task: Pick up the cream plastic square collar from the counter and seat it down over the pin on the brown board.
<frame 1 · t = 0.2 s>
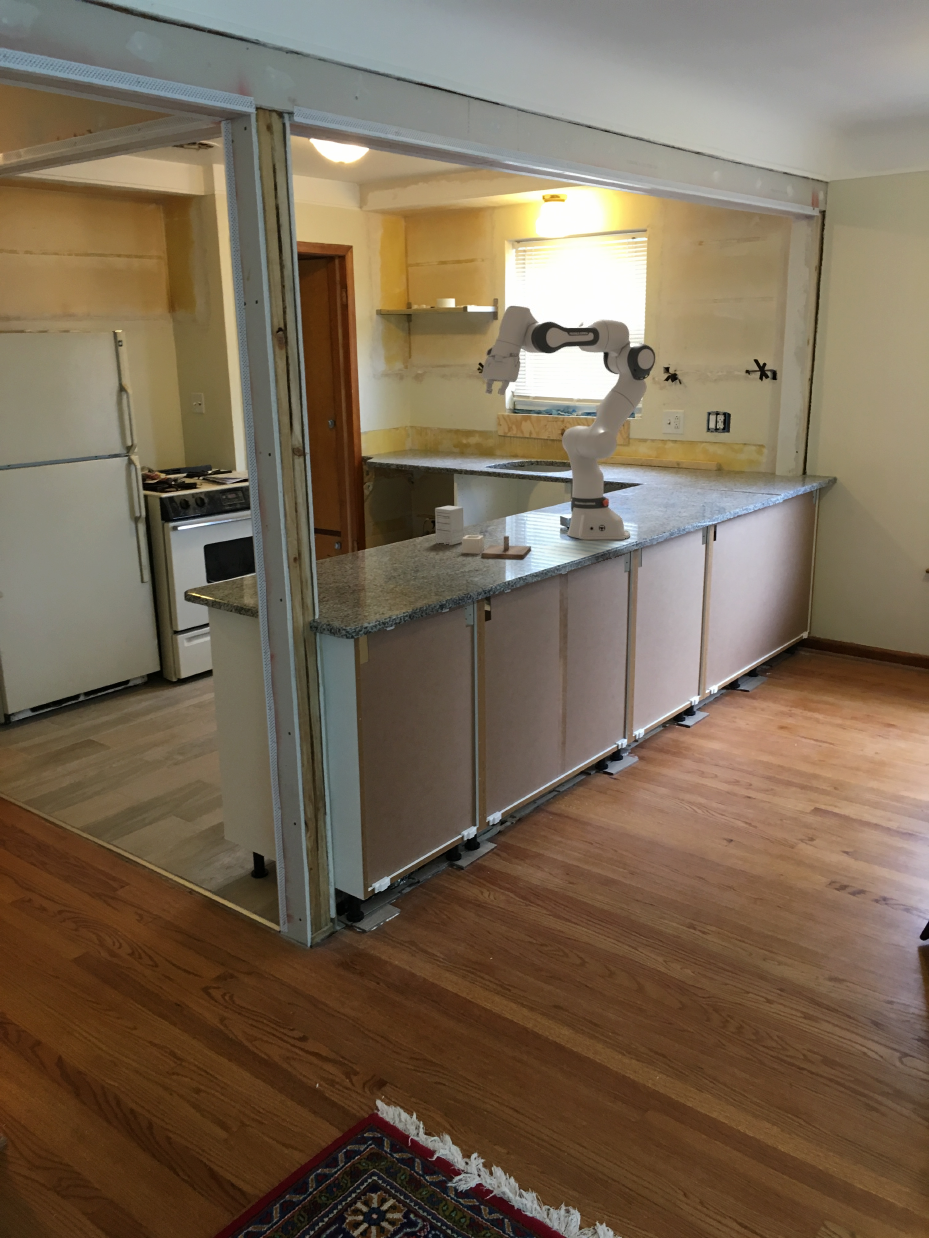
hand: (494, 394, 334), 52 cm above the counter, tool tilted 20°, fingers open, 8 cm apart
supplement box: (449, 543, 354), on the counter
pin board: (506, 554, 333), on the counter
collar: (473, 551, 338), on the counter
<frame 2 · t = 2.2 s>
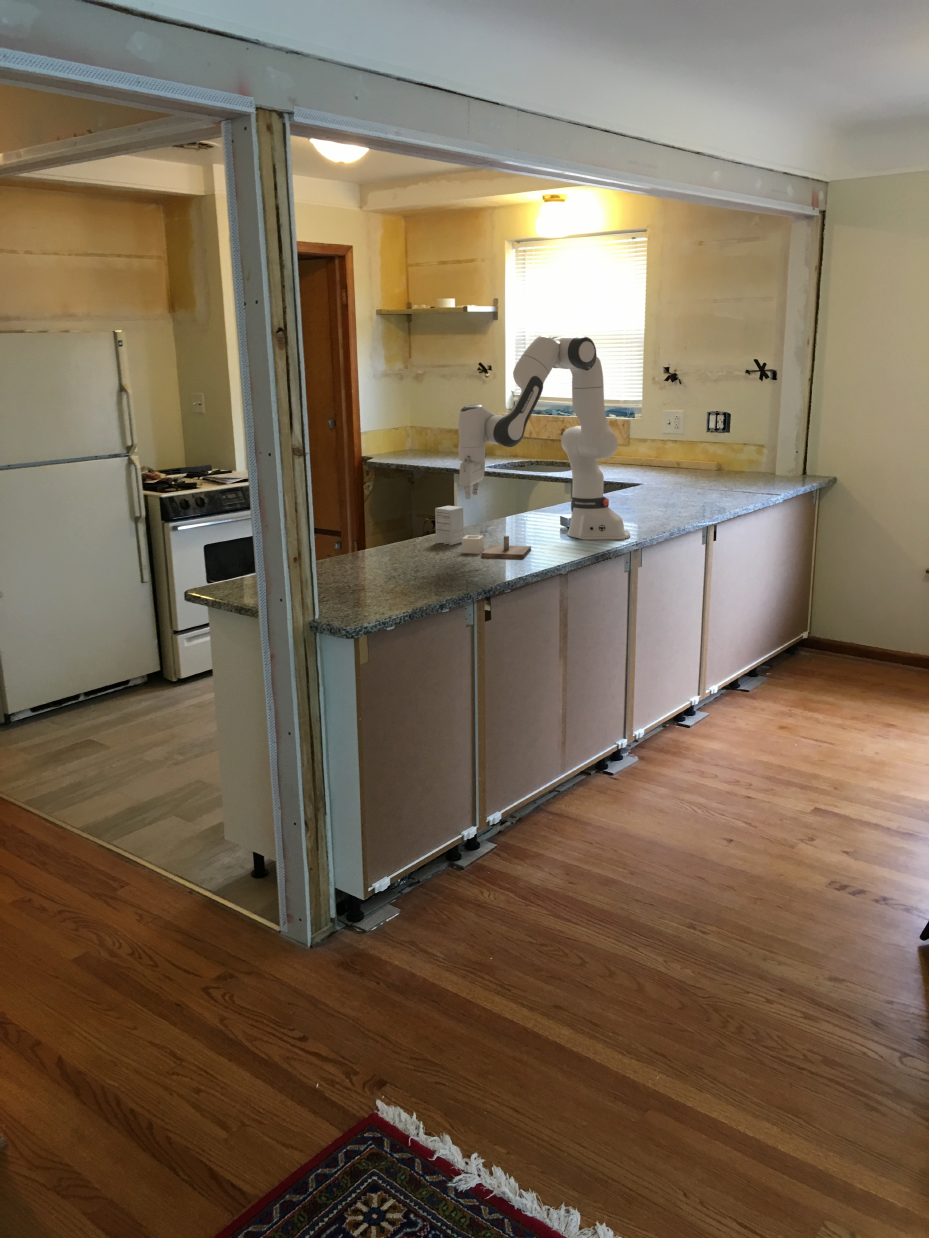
hand: (472, 496, 333), 19 cm above the counter, tool pointing down, fingers open, 8 cm apart
nothing on the counter moved.
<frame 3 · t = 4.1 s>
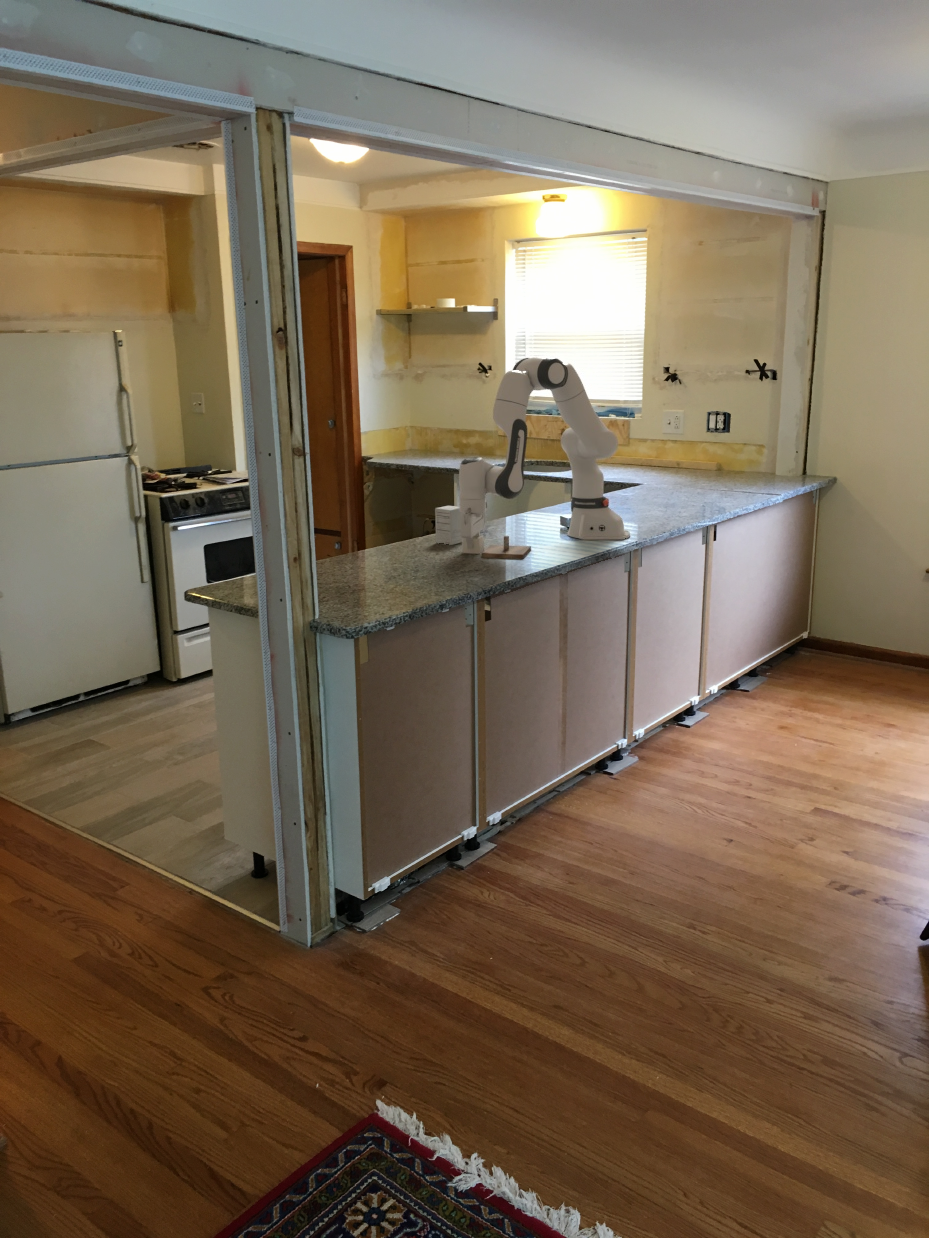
hand: (473, 546, 337), 2 cm above the counter, tool pointing down, fingers closed on collar, 6 cm apart
collar: (473, 551, 338), on the counter, touching gripper
everything else where it was.
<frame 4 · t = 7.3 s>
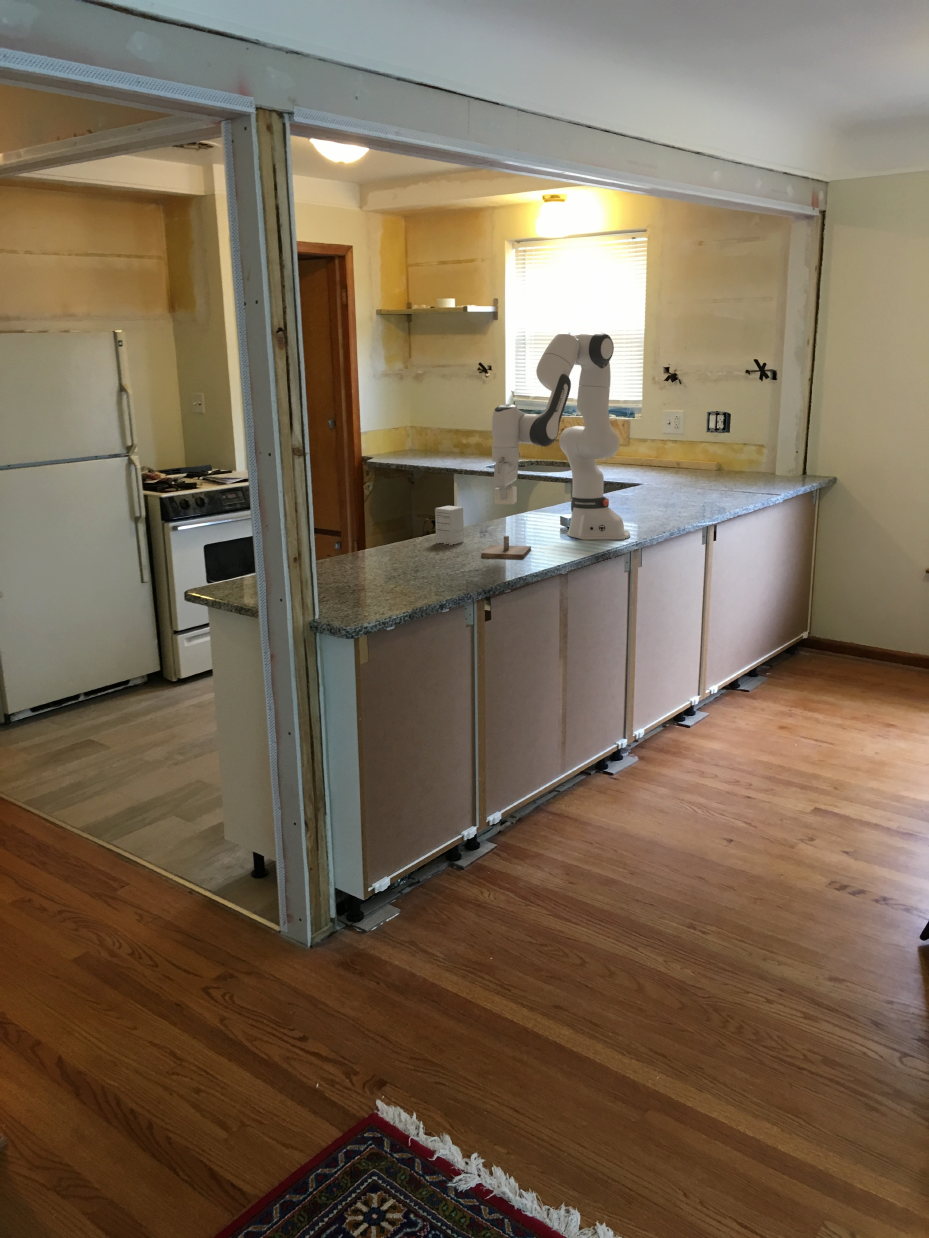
hand: (505, 497, 328), 19 cm above the counter, tool pointing down, fingers closed on collar, 6 cm apart
collar: (505, 502, 329), point 17 cm above the counter, touching gripper
everything else where it was.
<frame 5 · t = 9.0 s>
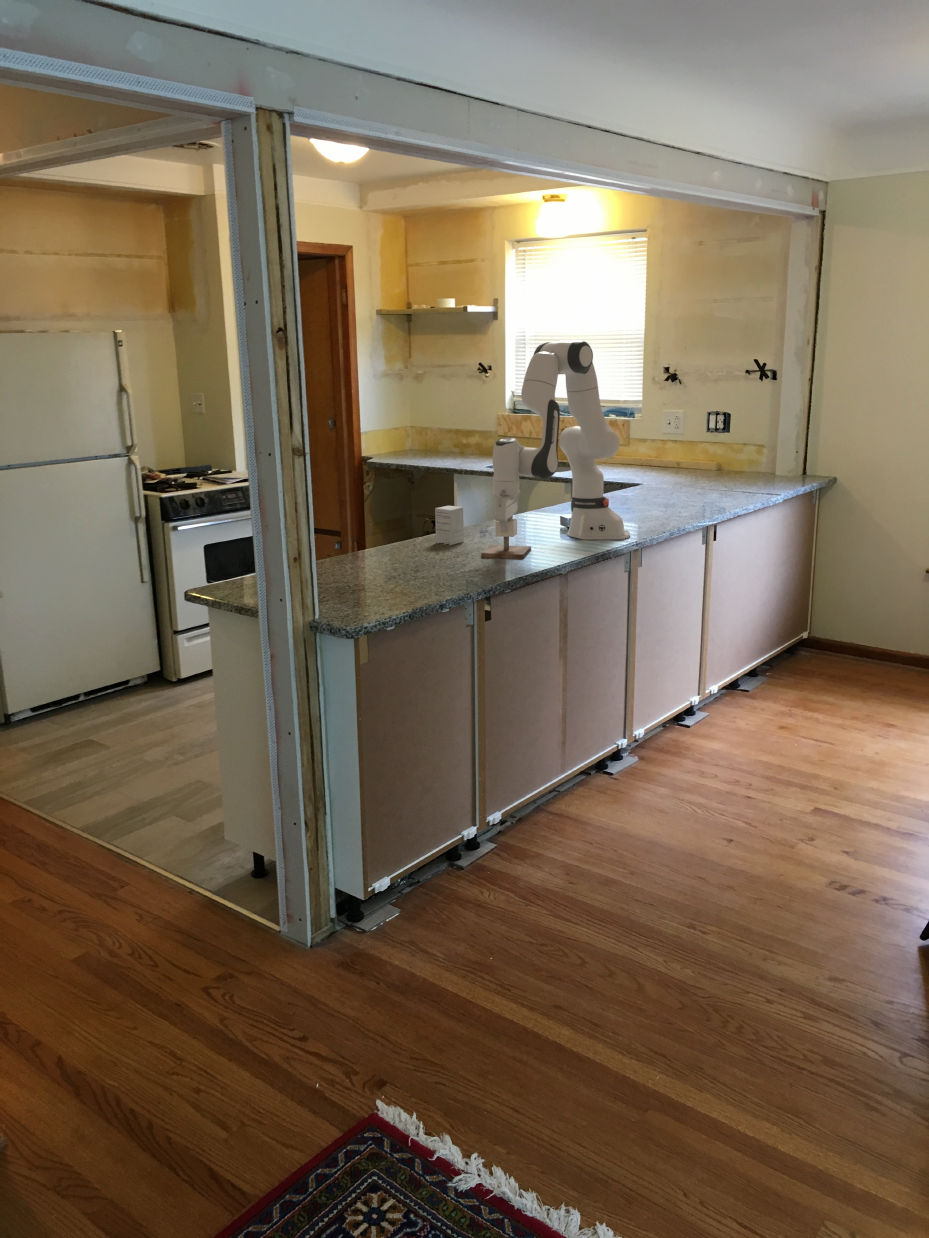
hand: (506, 530, 331), 8 cm above the counter, tool pointing down, fingers closed on collar, 6 cm apart
collar: (506, 535, 331), point 6 cm above the counter, touching gripper
everything else where it was.
when the fingers open (4 cm above the counter, at t = 10.5 s): collar stays where it is, resting on pin board.
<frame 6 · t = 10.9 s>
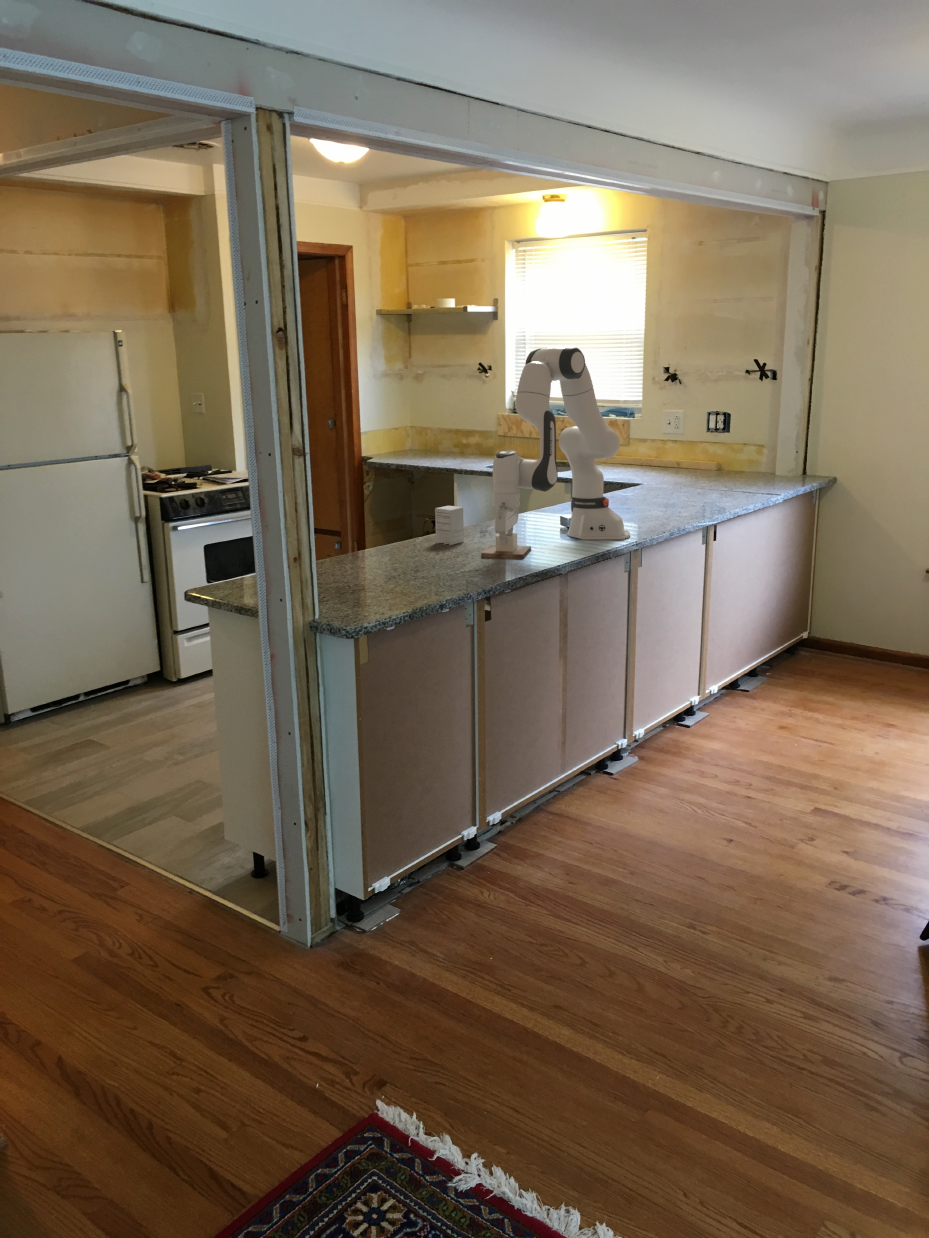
hand: (506, 542, 332), 4 cm above the counter, tool pointing down, fingers open, 8 cm apart
collar: (506, 549, 333), point 1 cm above the counter, touching pin board
everything else where it was.
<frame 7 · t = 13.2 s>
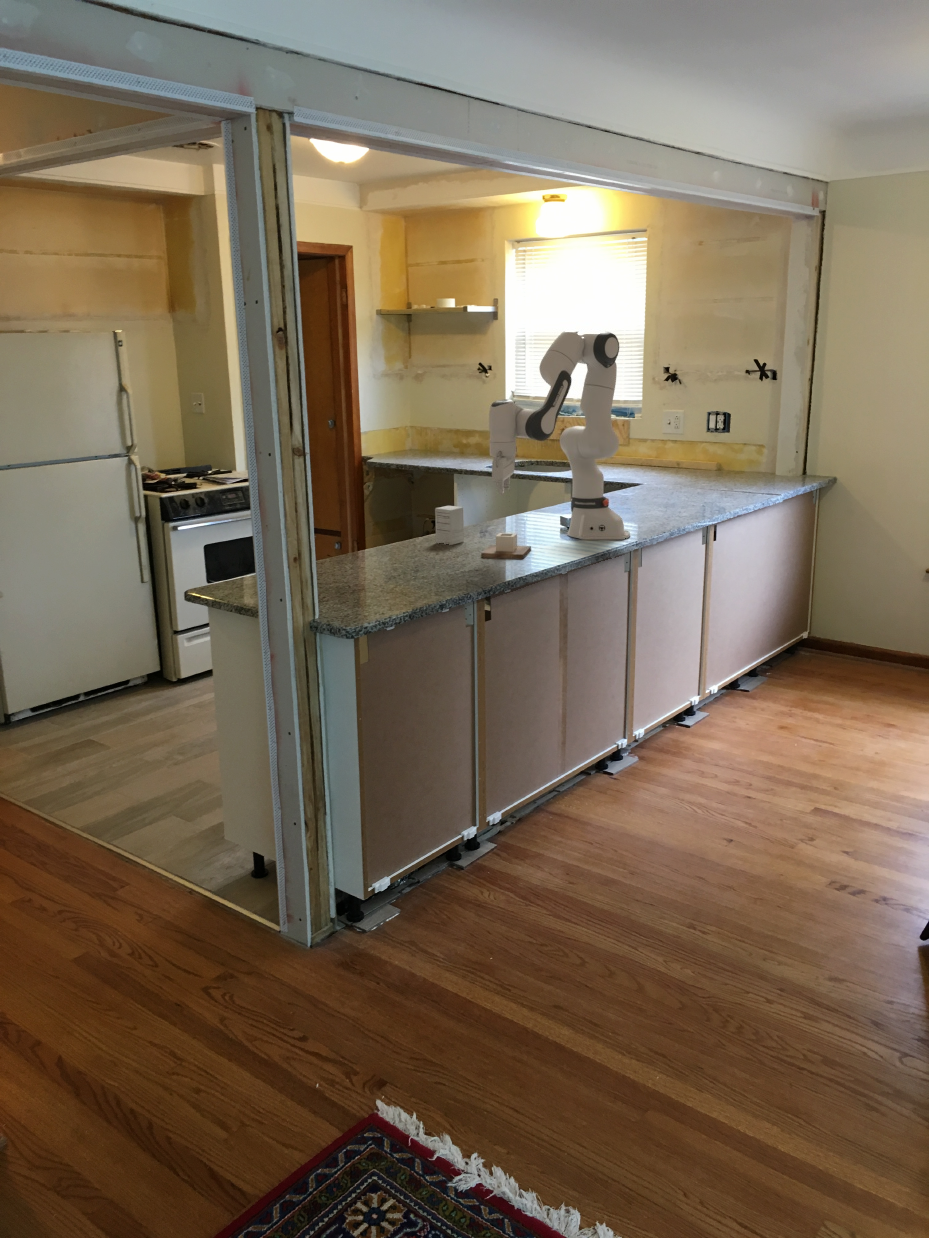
hand: (503, 491, 333), 20 cm above the counter, tool pointing down, fingers open, 8 cm apart
nothing on the counter moved.
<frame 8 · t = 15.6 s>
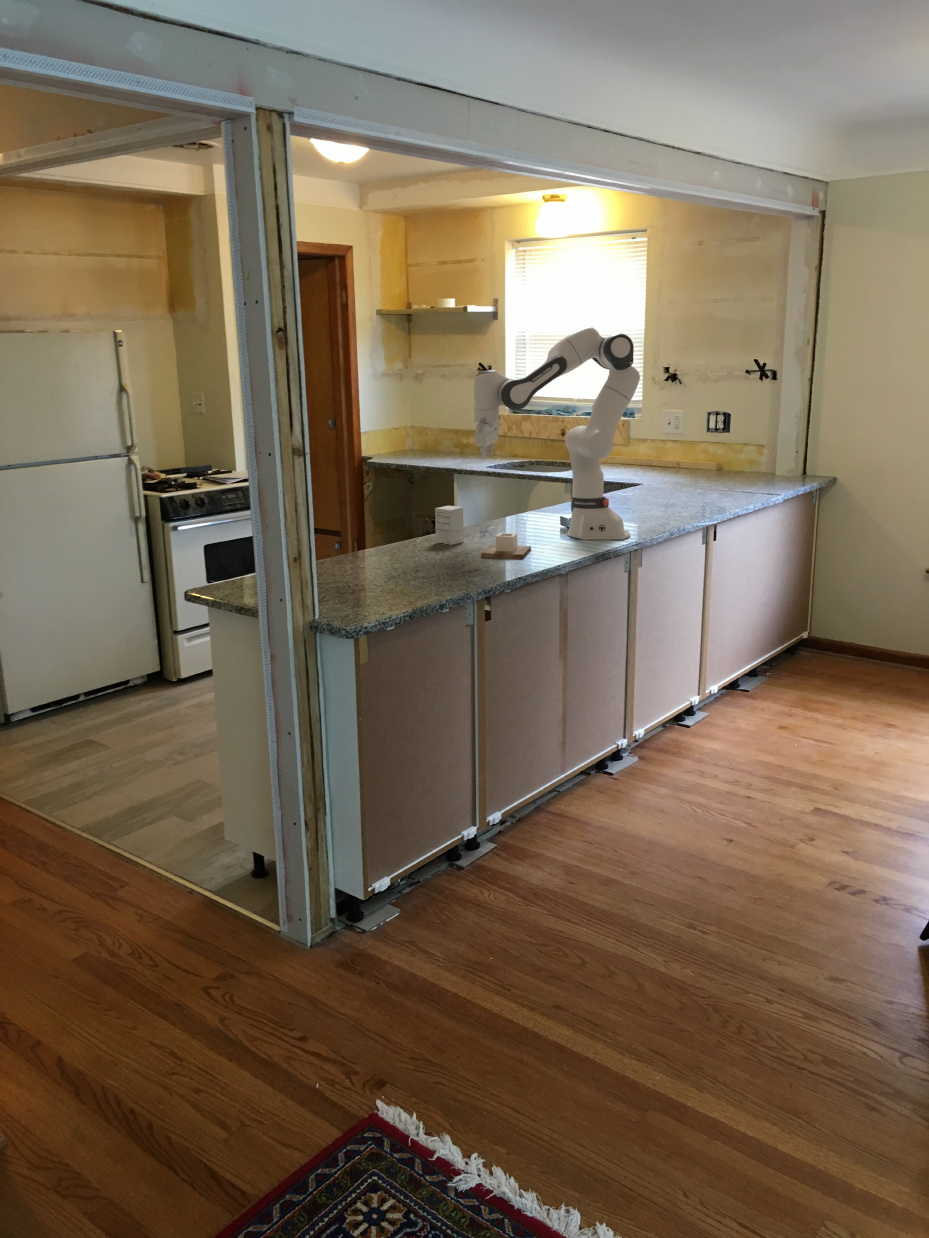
hand: (486, 457, 355), 29 cm above the counter, tool pointing down, fingers open, 8 cm apart
nothing on the counter moved.
at the end: collar 0.1 cm off-centre on the pin board, point 1.5 cm above the pin board's base; collar tilted 0°; the gripper is holding nothing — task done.
